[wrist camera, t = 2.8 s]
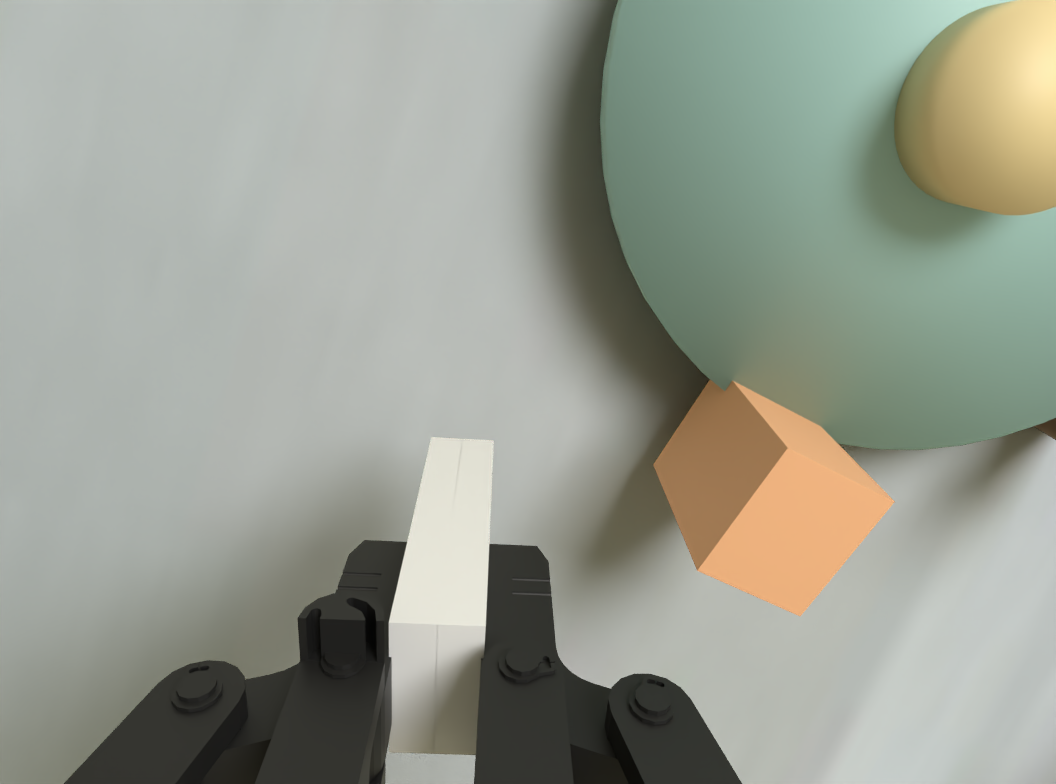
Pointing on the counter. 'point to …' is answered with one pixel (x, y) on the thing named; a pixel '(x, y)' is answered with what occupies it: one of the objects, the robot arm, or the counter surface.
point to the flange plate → (833, 251)
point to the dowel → (1048, 428)
